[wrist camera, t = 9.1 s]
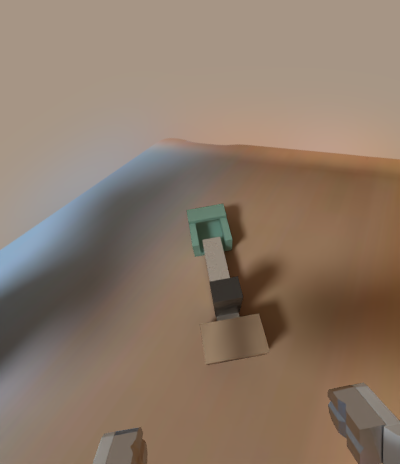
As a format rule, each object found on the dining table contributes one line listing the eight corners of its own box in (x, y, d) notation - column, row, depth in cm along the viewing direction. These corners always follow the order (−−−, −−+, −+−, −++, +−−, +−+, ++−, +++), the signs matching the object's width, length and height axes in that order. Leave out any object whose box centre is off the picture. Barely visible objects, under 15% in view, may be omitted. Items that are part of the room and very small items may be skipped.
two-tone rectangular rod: (221, 350, 27) (220, 342, 19) (202, 245, 35) (196, 213, 28) (245, 345, 27) (253, 336, 19) (220, 242, 35) (219, 208, 28)
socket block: (208, 364, 27) (205, 364, 23) (202, 330, 29) (199, 324, 25) (263, 354, 27) (270, 352, 23) (254, 320, 29) (258, 313, 25)
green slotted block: (195, 256, 35) (192, 244, 32) (189, 221, 39) (186, 207, 35) (231, 249, 35) (232, 237, 32) (222, 215, 39) (222, 201, 35)
